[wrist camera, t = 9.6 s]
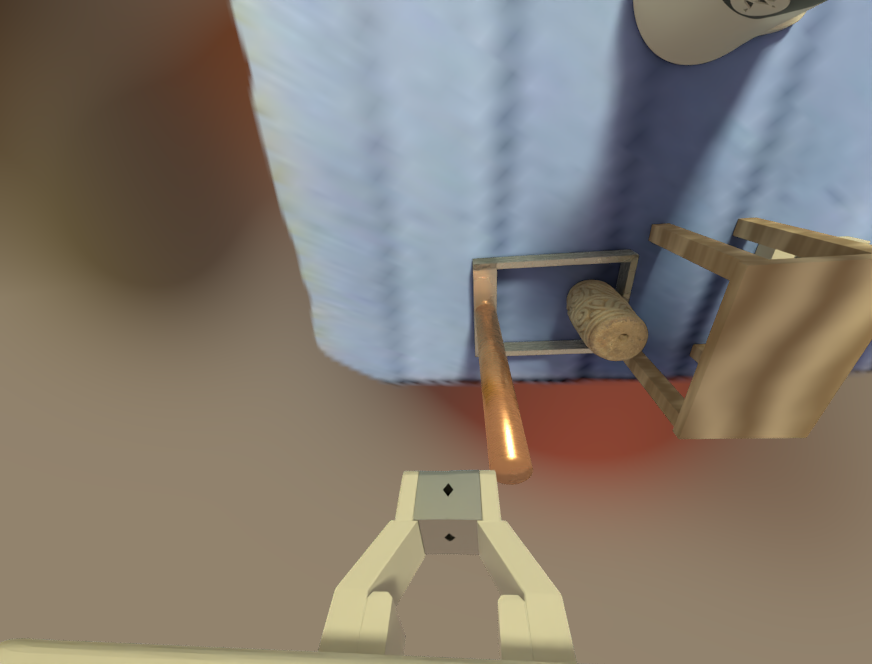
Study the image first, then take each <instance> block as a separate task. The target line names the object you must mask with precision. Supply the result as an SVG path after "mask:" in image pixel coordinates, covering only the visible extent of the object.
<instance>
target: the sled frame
mask: <svg viewBox="0 0 872 664" xmlns="http://www.w3.org/2000/svg"><path fill="white" fill-rule="evenodd" d="M638 258H639V254H637V253H635V252H634V251H632V250H630V249H627V250H610V251H593V252H576V253H560V254H543V255H526V256H510V257H493V258H476V259H473V297H474V337H475V357H479V365H480V376H481V386H482V396H483V406H484V416H485V427H486V437H487V446H488V457H489V467H490V470H495V472H496V478H497V482H500V483H502V484H511V485H513V484H519V483H522V482H524V481H526V480H527V479H529V478H530V476H531V475H532V472H533V468H532V464H531V459H530V455H529V451H528V447H527V442H526V438H525V433H524V429H523V425H522V421H521V416H520V412H519V408H518V404H517V399H516V395H515V390H514V386H513V382H512V377H511V373H510V369H509V364H508V360H507V356H519V355H550V354H580V353H593V352H592V351H591V350H590V349H589V348H588V347H587V346H586V344H585V343H584V341H583V340H559V341H532V342H505V343H503V339H502V334H501V330H500V326H499V321H498V317H497V313H496V305H497V269H509V268H527V267H545V266H562V265H580V264H598V263H616V262H621V264H620V269H619V274H618V279H617V284H616V289H615V290H616V291H617V292H618V293H619V294H620V295H621V297H623V298H624V299H625V300H626V301H627V303H628V302H629V298H630V293H631V289H632V285H633V280H634V276H635V271H636V267H637V263H638Z"/></svg>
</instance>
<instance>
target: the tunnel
mask: <svg viewBox="0 0 872 664" xmlns="http://www.w3.org/2000/svg"><path fill="white" fill-rule="evenodd" d="M733 236H736V237H739V238H742V239H745V240H749V241H752V242H755V243H758V244H761V245H764V246H767V247H770V248H773V249H777V250H780V251H783V252H786V253H789V254H792V255H795V256H798V257H801V258H786V259H766V258H764V257H761V256H758V255H755V254H753V253H750V252H747V251H744V250H741V249H739V248H736V247H733V246H730V245H728V244H725V243H722V242H719V241H717V240H714V239H711V238H708V237H706V236H703V235H700V234H697V233H695V232H692V231H689V230H686V229H683V228H681V227H678V226H675V225H672V224H670V223H667V224H652V228H651V232H650V236H649V240H648V241H650V242H652V243H654V244H656V245H658V246H660V247H663V248H665V249H667V250H669V251H671V252H673V253H675V254H677V255H679V256H681V257H683V258H685V259H687V260H689V261H691V262H693V263H695V264H697V265H699V266H701V267H703V268H705V269H707V270H709V271H711V272H713V273H715V274H717V275H719V276H721V277H723V278H726V279H728V280H730V281H729V284H728V286H727V289H726V292H725V294H724V297H723V300H722V302H721V305H720V308H719V310H718V313H717V315H716V318H715V321H714V323H713V326H712V329H711V331H710V334H709V336H708V339H707V342H706V344H694V345H693V347H692V350H691V353H690V356H691V357H692V358H693V359H694V360H695V361H696V362H697V363H698V365H697V368H696V371H695V373H694V376H693V379H692V381H691V384H690V387H689V389H688V392H687V395H686V397H685V399H684V398H683V397H682V396H681V394H680V393H679V392H678V391H677V390H676V389H675V388H674V387H673V385H672V384H671V383H670V382H669V381H668V380H667V379H666V378H665V377H664V375H663V374H662V373H661V372H660V371H659V370H658V369H657V368H656V367H655V365H654V364H653V363H652V362H651V361H650V360H649V359H648V358H647V357H646V355H645V354H644V353H643V352H642V351H641V352H639V353H638V354H637V355H636V356H634V357H633V358H630V359H627V360H623V361H624V362H625V364H626V365H627V366H628V368H629V369H630V370H631V372H632V373H633V374H634V375H635V377H636V378H637V379H638V381H639V382H640V383H641V384H642V386H643V387H644V388H645V390H646V391H647V392H648V393H649V395H650V396H651V397H652V399H653V400H654V401H655V403H656V404H657V405H658V406H659V408H660V409H661V410H662V412H663V413H664V414H665V416H666V417H667V418H668V419H669V421H670V422H671V423H672V425H673V426H674V429H673V432H674V433H675V435H676V436H677V437H678V439H723V438H724V439H725V438H726V439H728V438H806V437H807V436H808V435H809V433H810V432H811V430H812V429H813V427H814V426H815V424H816V423H817V421H818V420H819V418H820V416H821V415H822V414H823V412H824V410H825V409H826V407H827V406H828V404H829V403H830V401H831V400H832V398H833V397H834V395H835V394H836V392H837V391H838V389H839V387H840V386H841V385H842V383H843V382H844V380H845V379H846V377H847V376H848V374H849V373H850V371H851V370H852V368H853V367H854V365H855V364H856V362H857V361H858V359H859V358H860V356H861V355H862V353H863V352H864V350H865V349H866V347H867V346H868V344H869V343H870V341H871V340H872V245H870V244H866V243H861V242H857V241H853V240H849V239H845V238H840V237H836V236H832V235H828V234H823V233H819V232H815V231H811V230H807V229H802V228H798V227H794V226H790V225H785V224H781V223H777V222H773V221H769V220H764V219H760V218H743V219H738V222H737V225H736V228H735V230H734V233H733Z"/></svg>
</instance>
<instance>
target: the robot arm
mask: <svg viewBox="0 0 872 664" xmlns="http://www.w3.org/2000/svg"><path fill="white" fill-rule="evenodd" d="M825 1H827V0H633V6H634V14H635V19H636V23H637V26H638V29H639V31H640V34H641V36H642V38H643V39H644V41H645V43H646V44H647V45H648V47H649V48H650V49H651V50H652V51H653V52H654V53H655V54H656V55H658V56H659V57H661V58H662V59H664V60H666V61H668V62H671V63H675V64H680V65H696V64H702V63H706V62H709V61H712V60H715V59H717V58H720V57H722V56H724V55H726V54H728V53H729V52H731V51H733V50H734V49H736V48H737V47H739V46H741V45H742V44H744V43H746V42H747V41H749V40H751V39H752V38H754V37H756V36H760V35H765V34H769V33H773V32H777V31H780V30H783V29H785V28H787V27H789V26H791V25H793V24H794V23H796V22H797V21H799V20H800V19H801V18H802V17H803V15H804V14H805V13H806V11H808V10H810V9H812V8H814V7H815V6H817V5H819V4H821V3H823V2H825ZM425 554H467V555H479V557H480V558H481V560H482V562H483V564H484V566H485V568H486V569H487V571H488V573H489V575H490V577H491V578H492V580H493V582H494V584H495V586H496V587H497V589H498V591H499V593H500V595H501V597H500V598H499V600H498V645H499V657H500V658H499V659H500V660H491V659H468V658H448V657H425V656H404V647H405V637H406V636H405V633H404V630H403V627H402V624H401V621H400V618H399V616H398V613H397V610H396V606H397V604H398V603H399V601H400V599H401V597H402V596H403V594H404V592H405V590H406V589H407V587H408V585H409V584H410V582H411V580H412V578H413V577H414V575H415V573H416V571H417V570H418V568H419V566H420V564H421V563H422V561H423V559H424V557H425ZM0 664H580V663H577V661H576V656H575V652H574V648H573V643H572V639H571V635H570V630H569V626H568V621H567V617H566V613H565V608H564V604H563V600H562V595H561V594H560V592H559V591H558V590H557V588H556V587H555V586H554V584H553V583H552V582H551V580H550V579H549V578H548V576H547V575H546V574H545V572H544V571H543V569H542V568H541V567H540V565H539V564H538V563H537V561H536V560H535V559H534V557H533V556H532V555H531V553H530V552H529V551H528V549H527V548H526V547H525V545H524V544H523V543H522V541H521V540H520V539H519V537H518V536H517V535H516V533H515V532H514V531H513V529H512V528H511V527H510V525H509V524H508V522H507V521H501V513H500V505H499V496H498V487H497V478H496V472H495V470H480V471H479V470H457V471H405V472H404V474H403V476H402V482H401V487H400V493H399V499H398V505H397V511H396V517H395V520H391V521H389V523H388V524H387V525H386V527H385V528H384V529H383V530H382V532H381V533H380V534H379V535H378V536H377V538H376V539H375V540H374V541H373V543H372V544H371V545H370V546H369V548H368V549H367V550H366V551H365V553H364V554H363V555H362V556H361V558H360V559H359V560H358V561H357V562H356V564H355V565H354V566H353V567H352V569H351V570H350V571H349V573H348V574H347V575H346V576H345V578H344V579H343V580H342V581H341V582H340V584H339V585H338V586H337V587H336V589H335V592H334V595H333V599H332V603H331V606H330V610H329V613H328V617H327V620H326V624H325V628H324V631H323V634H322V638H321V642H320V645H319V649H318V652H315V651H314V652H313V651H292V650H270V649H248V648H247V649H246V648H226V647H204V646H182V645H158V644H137V643H116V642H92V641H67V640H47V639H30V638H16V639H9V640H6V641H3V642H1V643H0Z"/></svg>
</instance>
